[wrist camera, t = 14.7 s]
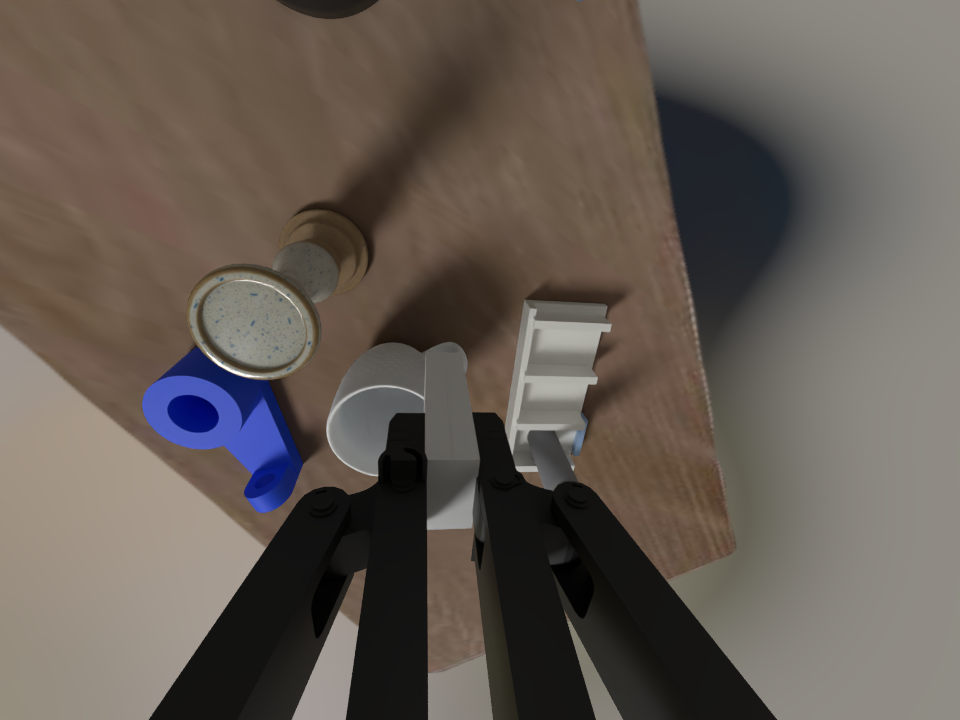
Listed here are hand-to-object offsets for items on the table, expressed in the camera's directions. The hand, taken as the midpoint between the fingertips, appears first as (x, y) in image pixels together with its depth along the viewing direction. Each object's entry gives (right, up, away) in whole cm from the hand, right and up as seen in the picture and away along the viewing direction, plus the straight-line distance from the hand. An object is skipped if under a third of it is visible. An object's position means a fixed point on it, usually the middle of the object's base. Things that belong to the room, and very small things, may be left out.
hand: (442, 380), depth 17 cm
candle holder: (-15, +12, +25) cm, 32 cm away
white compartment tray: (+11, -3, +36) cm, 38 cm away
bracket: (-27, -6, +33) cm, 43 cm away
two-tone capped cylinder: (+10, -10, +39) cm, 41 cm away
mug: (-8, 0, +32) cm, 33 cm away
